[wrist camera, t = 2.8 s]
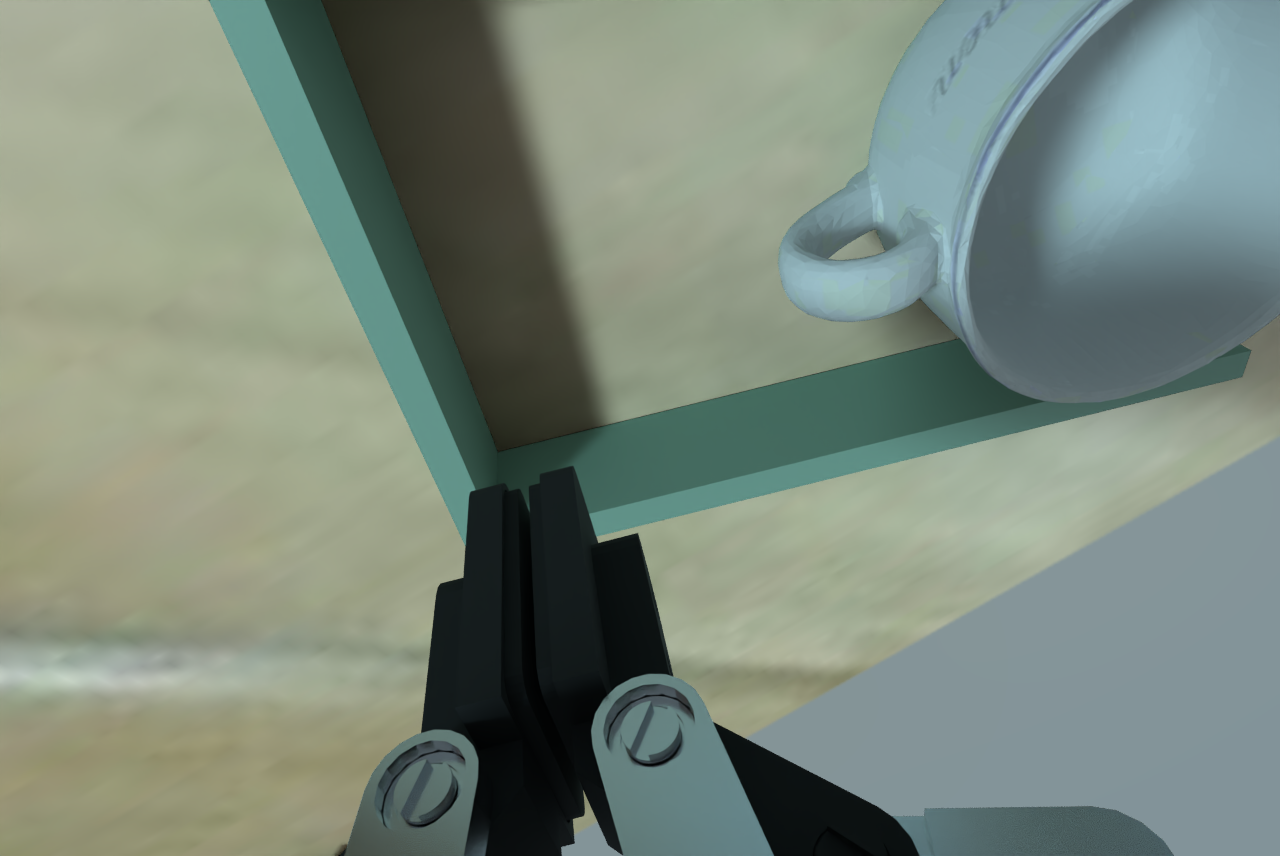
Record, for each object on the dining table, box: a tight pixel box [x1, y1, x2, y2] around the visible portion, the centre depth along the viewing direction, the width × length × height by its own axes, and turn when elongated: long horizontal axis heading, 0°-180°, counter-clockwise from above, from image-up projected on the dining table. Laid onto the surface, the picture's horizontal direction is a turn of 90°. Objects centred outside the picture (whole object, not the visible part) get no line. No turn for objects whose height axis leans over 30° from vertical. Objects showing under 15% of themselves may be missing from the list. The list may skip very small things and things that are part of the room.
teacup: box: [778, 0, 1280, 403], centre depth 19 cm, size 14×11×8 cm
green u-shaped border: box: [209, 0, 1251, 546], centre depth 20 cm, size 17×26×4 cm, turn 101°
